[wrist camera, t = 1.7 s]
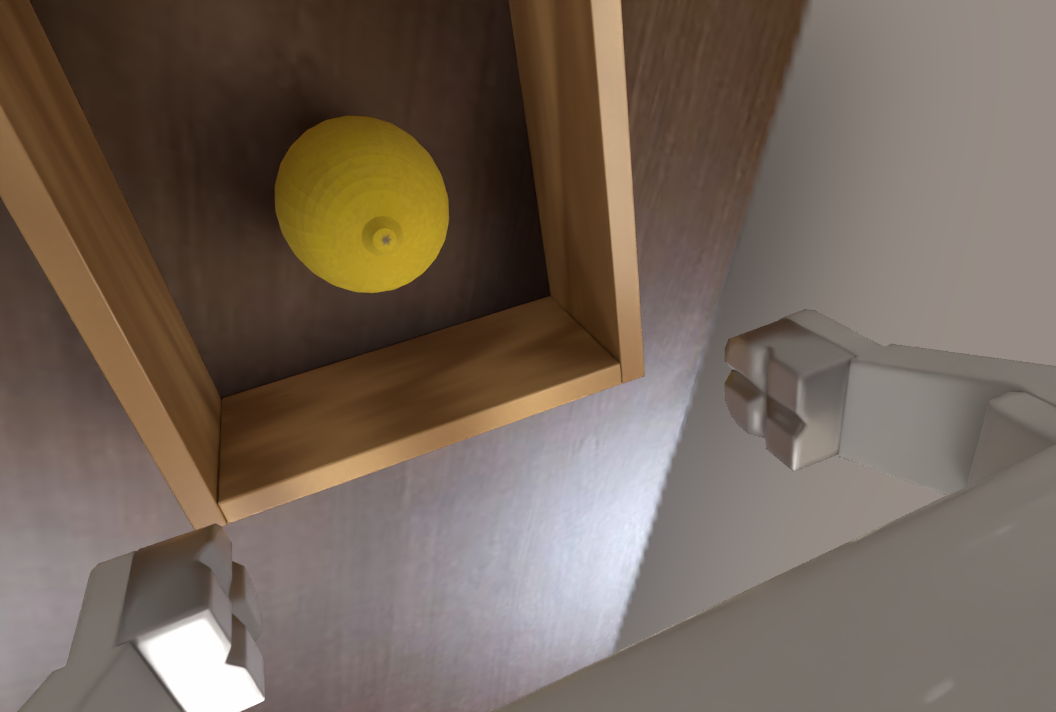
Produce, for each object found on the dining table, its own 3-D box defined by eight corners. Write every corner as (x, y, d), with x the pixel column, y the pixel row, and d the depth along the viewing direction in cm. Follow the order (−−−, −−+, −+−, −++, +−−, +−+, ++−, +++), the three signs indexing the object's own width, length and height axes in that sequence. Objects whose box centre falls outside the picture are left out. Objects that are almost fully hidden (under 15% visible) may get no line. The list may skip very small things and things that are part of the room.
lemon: (388, 264, 27) (435, 348, 21) (250, 218, 25) (254, 298, 18) (439, 137, 26) (507, 185, 19) (297, 73, 23) (321, 103, 17)
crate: (517, -123, 23) (611, -163, 17) (571, 307, 32) (645, 376, 26) (-33, -43, 19) (-152, -60, 13) (205, 424, 28) (197, 536, 22)
